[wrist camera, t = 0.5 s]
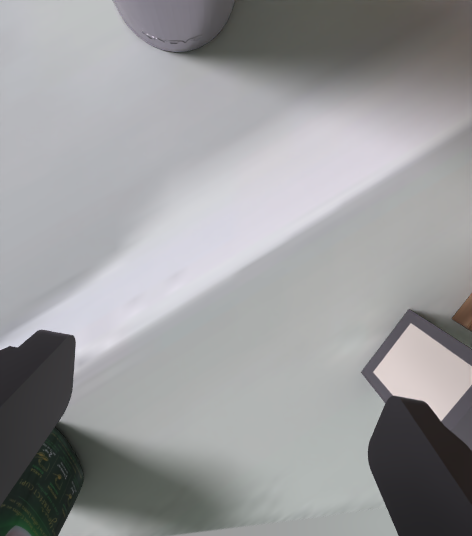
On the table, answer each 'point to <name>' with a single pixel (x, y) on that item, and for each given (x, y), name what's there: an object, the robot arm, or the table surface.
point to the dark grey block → (426, 372)
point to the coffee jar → (43, 491)
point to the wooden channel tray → (465, 314)
